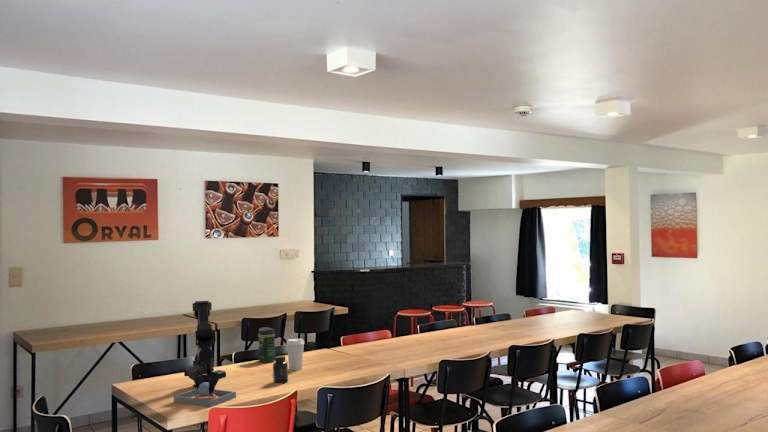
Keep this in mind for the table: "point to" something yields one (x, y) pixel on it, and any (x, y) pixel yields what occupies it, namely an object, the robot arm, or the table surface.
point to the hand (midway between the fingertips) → (205, 393)
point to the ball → (204, 389)
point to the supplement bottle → (280, 370)
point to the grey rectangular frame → (205, 398)
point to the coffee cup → (295, 353)
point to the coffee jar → (266, 344)
